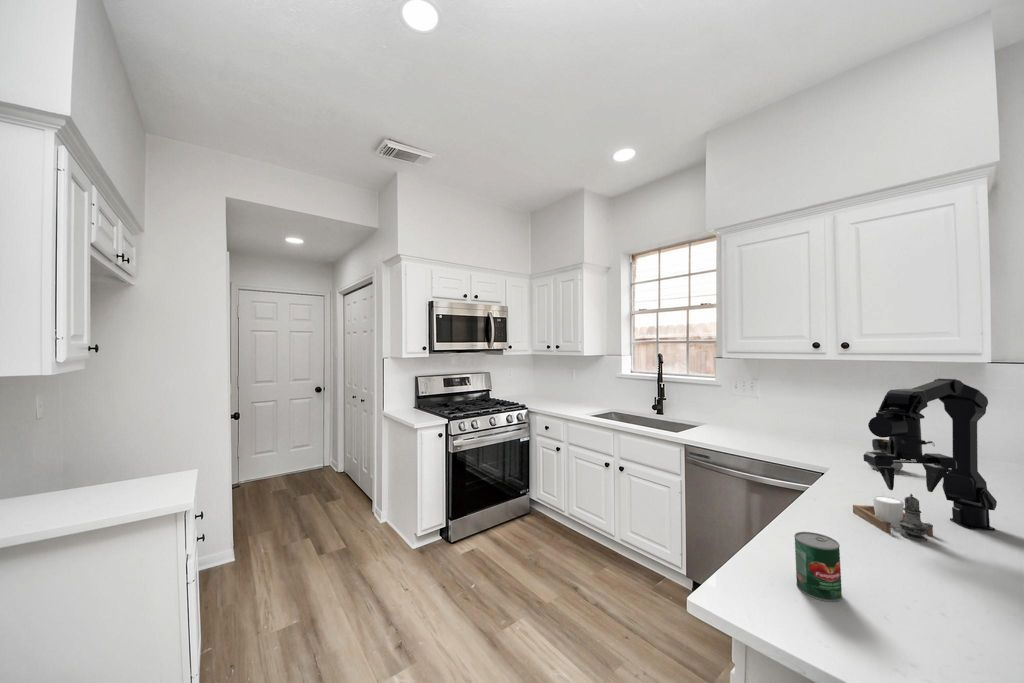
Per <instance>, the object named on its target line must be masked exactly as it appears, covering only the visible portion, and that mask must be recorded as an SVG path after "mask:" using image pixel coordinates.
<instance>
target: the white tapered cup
mask: <svg viewBox="0 0 1024 683" xmlns="http://www.w3.org/2000/svg"><path fill="white" fill-rule="evenodd" d="M871 498H872V502H873V503H872V504H873V506H874V510H875V516H876V517H878V518H880V519H881V520H883V521H889V522H891V525H890V527H891V528H892V527H893V528H901V526H900V523H899V522H898V521H899V520H903V512H904V510H903V508H904V507H905V502H904V501H903V500H901V499H897V498H894V497H890V496H885V495H883V496H882V495H874V496H872V497H871Z"/></svg>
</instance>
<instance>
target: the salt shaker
mask: <svg viewBox="0 0 1024 683" xmlns="http://www.w3.org/2000/svg"><path fill="white" fill-rule="evenodd" d="M903 511H904V513H905V519H904V520H899V521H898V522H899V523H900V526H901V527H900V528H901V529H902V530H903V531H904V532H903V531H902V532H901V533H900V536H901V537H903V538H904V539H907V540H910V541H915V542H921V543H922V542H924V543H925V542H926V543H927V542H928V539H927V537H925V535H926V532H927V529H928V526H926V525H925V524H923V523H924V522H923V521H922V520H921V519H922V518H921V514H922V511H921V510H920V500H918V498H916V497H914V495H913V494H912V493H910V494H909V496H905V497H904V507H903ZM922 522H923V523H922ZM923 535H924V536H923Z"/></svg>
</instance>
